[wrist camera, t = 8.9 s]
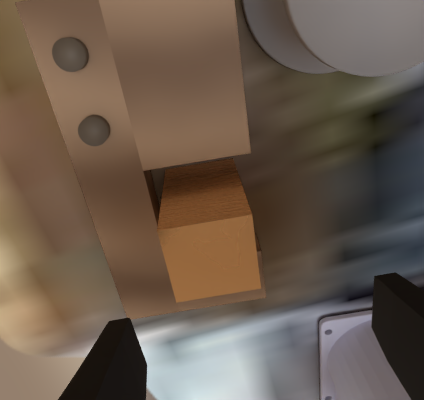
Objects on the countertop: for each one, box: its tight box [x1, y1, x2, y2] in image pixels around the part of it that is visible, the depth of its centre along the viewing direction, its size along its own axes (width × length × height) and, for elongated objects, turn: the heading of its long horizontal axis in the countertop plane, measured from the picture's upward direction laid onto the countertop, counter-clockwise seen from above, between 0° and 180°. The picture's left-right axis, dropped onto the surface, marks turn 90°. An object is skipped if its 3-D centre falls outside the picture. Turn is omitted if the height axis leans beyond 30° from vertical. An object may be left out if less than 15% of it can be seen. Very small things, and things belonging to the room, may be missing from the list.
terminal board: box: [15, 0, 266, 319], centre depth 17 cm, size 16×8×2 cm, turn 9°
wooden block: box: [157, 158, 261, 303], centre depth 16 cm, size 4×4×6 cm
